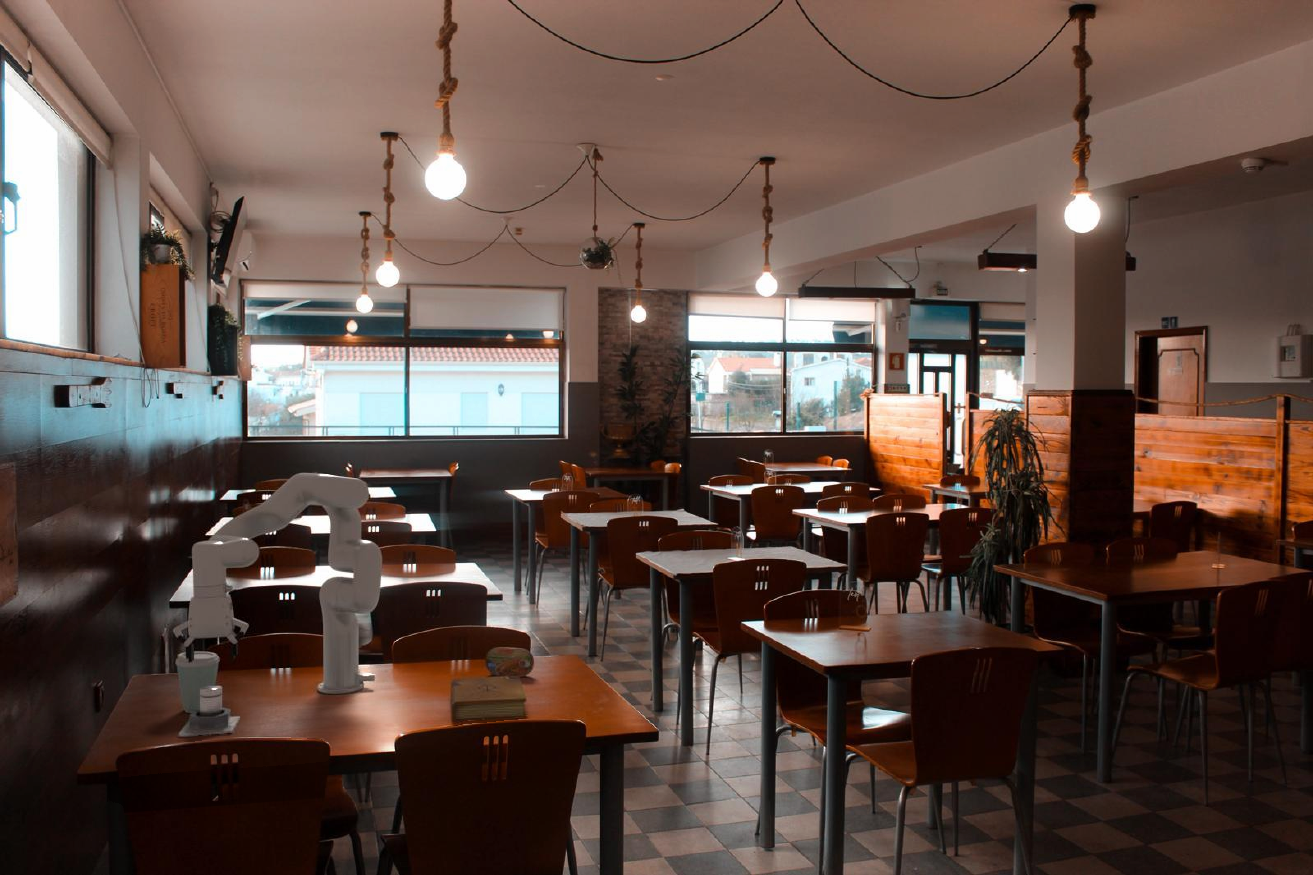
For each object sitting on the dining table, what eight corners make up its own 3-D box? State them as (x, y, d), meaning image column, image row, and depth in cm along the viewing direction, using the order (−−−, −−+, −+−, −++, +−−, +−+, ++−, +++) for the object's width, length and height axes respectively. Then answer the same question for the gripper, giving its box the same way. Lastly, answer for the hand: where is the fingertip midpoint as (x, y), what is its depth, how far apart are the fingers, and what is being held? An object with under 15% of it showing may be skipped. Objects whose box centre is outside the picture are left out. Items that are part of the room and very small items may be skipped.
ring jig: (240, 719, 264) (240, 704, 264) (232, 733, 252) (232, 718, 252) (189, 722, 261) (189, 707, 261) (178, 737, 249) (178, 721, 249)
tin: (484, 674, 310) (484, 646, 310) (489, 672, 313) (489, 644, 313) (531, 678, 306) (531, 650, 305) (535, 676, 309) (535, 648, 308)
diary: (450, 699, 285) (450, 678, 285) (519, 696, 289) (519, 675, 289) (452, 723, 263) (452, 701, 263) (526, 719, 267) (526, 697, 267)
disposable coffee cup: (207, 701, 279) (207, 646, 279) (228, 709, 272) (227, 652, 272) (168, 710, 271) (167, 653, 271) (188, 718, 264) (187, 660, 264)
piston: (223, 721, 260) (223, 685, 259) (219, 727, 255) (220, 690, 254) (202, 721, 259) (202, 686, 258) (197, 728, 254) (198, 691, 253)
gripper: (249, 586, 261) (251, 653, 262) (175, 590, 257) (177, 658, 258) (244, 592, 254) (246, 661, 255) (168, 596, 250) (171, 666, 251)
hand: (212, 659), depth 257 cm, fingers open, 9 cm apart
